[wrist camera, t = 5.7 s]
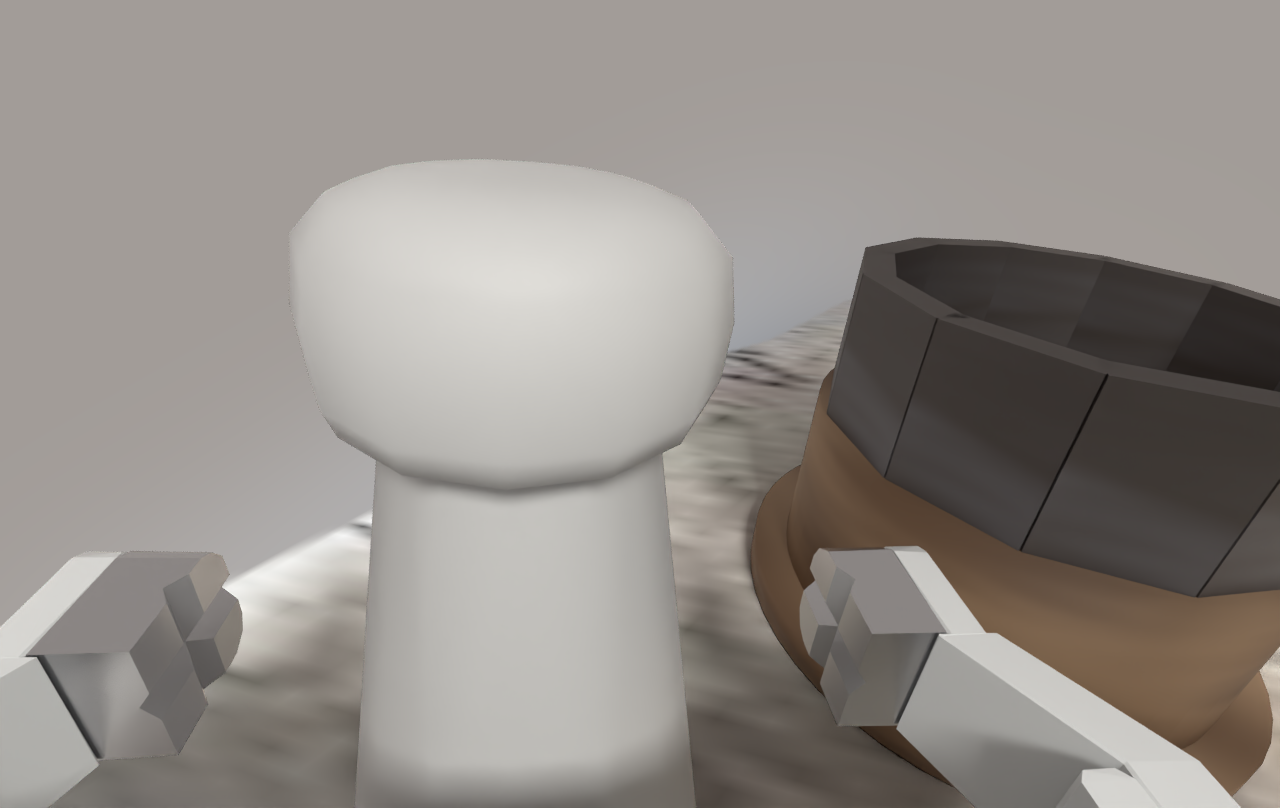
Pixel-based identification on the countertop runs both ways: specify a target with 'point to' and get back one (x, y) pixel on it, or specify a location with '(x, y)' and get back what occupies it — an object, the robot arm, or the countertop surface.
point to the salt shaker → (515, 470)
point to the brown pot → (1059, 475)
